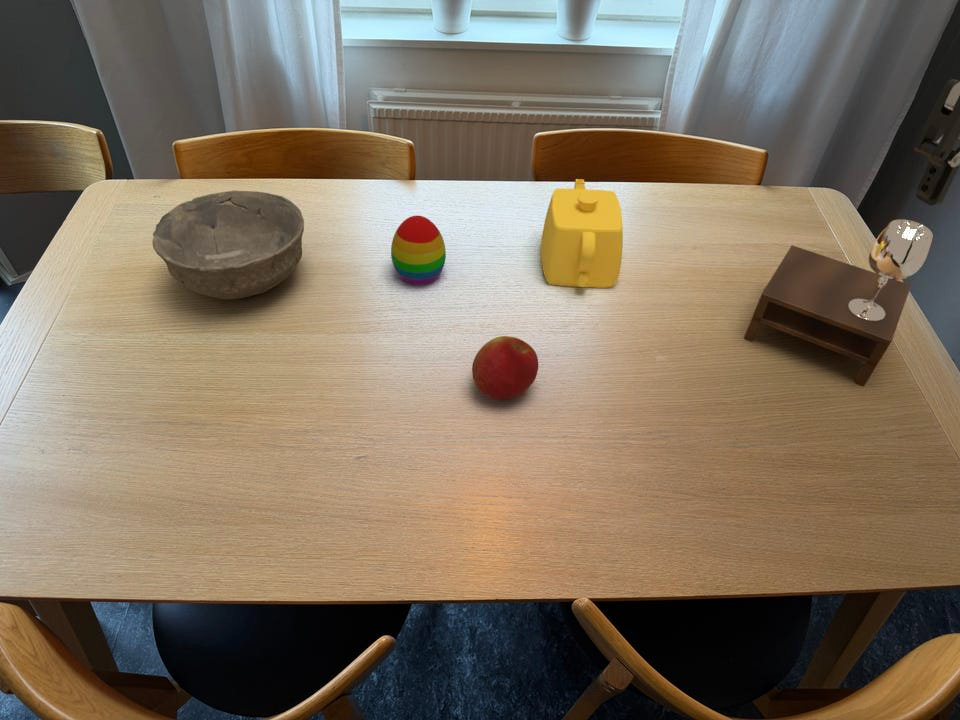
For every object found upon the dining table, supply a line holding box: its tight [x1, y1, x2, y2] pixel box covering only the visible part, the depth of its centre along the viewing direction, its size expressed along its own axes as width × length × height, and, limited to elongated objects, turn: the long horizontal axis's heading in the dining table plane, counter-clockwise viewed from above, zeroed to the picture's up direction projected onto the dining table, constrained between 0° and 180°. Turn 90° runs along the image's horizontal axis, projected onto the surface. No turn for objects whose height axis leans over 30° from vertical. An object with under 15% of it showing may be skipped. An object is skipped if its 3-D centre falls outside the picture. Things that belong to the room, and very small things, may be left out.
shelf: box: [743, 244, 912, 387], centre depth 91 cm, size 16×14×8 cm
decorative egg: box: [390, 215, 447, 285], centre depth 98 cm, size 8×8×10 cm
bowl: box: [151, 190, 305, 300], centre depth 96 cm, size 21×21×10 cm
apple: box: [471, 335, 539, 401], centre depth 82 cm, size 8×8×8 cm
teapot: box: [540, 178, 624, 289], centre depth 101 cm, size 20×12×12 cm, turn 177°
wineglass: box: [848, 218, 934, 321], centre depth 81 cm, size 6×6×12 cm
